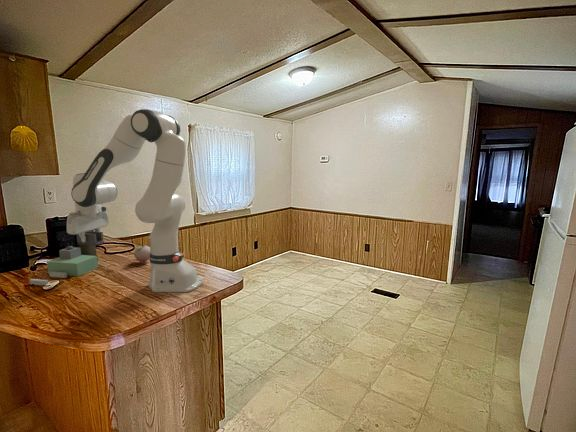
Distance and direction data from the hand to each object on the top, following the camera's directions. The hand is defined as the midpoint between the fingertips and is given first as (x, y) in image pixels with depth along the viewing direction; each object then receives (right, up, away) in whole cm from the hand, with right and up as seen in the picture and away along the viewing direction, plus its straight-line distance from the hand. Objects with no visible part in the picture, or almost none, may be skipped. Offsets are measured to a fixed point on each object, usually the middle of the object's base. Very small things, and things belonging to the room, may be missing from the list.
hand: (90, 240), depth 141 cm
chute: (0, -2, 0) cm, 2 cm away
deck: (-15, -17, +4) cm, 23 cm away
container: (-16, -13, +23) cm, 31 cm away
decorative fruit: (+14, -14, +23) cm, 30 cm away
